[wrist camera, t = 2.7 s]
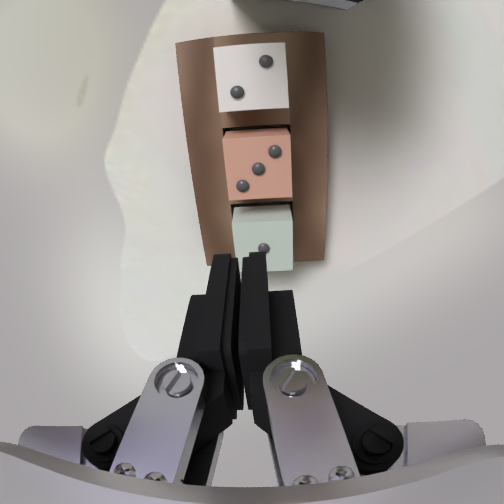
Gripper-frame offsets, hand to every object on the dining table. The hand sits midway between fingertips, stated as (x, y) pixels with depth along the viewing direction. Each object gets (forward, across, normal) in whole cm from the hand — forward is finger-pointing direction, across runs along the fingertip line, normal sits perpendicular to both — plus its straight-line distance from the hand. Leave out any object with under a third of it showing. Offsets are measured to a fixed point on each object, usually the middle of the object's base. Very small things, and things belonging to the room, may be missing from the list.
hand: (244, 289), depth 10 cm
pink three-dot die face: (+16, -1, 0) cm, 16 cm away
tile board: (+18, -1, 0) cm, 18 cm away
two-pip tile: (+16, -1, -7) cm, 17 cm away
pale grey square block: (+16, -1, +6) cm, 17 cm away
